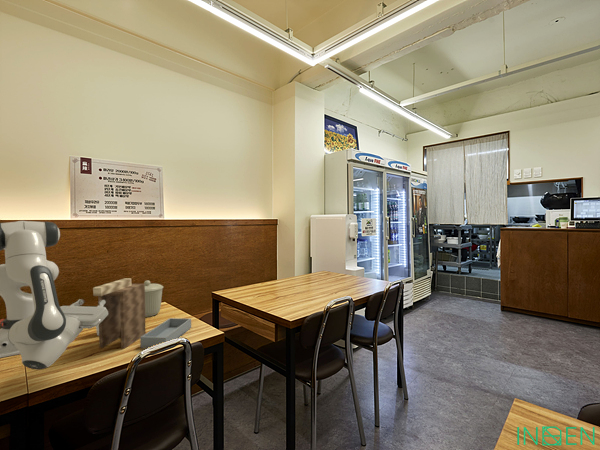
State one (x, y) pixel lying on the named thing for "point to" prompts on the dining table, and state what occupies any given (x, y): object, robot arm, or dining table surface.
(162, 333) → the tray
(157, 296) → the canister
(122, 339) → the zigzag patterned arch
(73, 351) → the dining table surface
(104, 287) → the bar
